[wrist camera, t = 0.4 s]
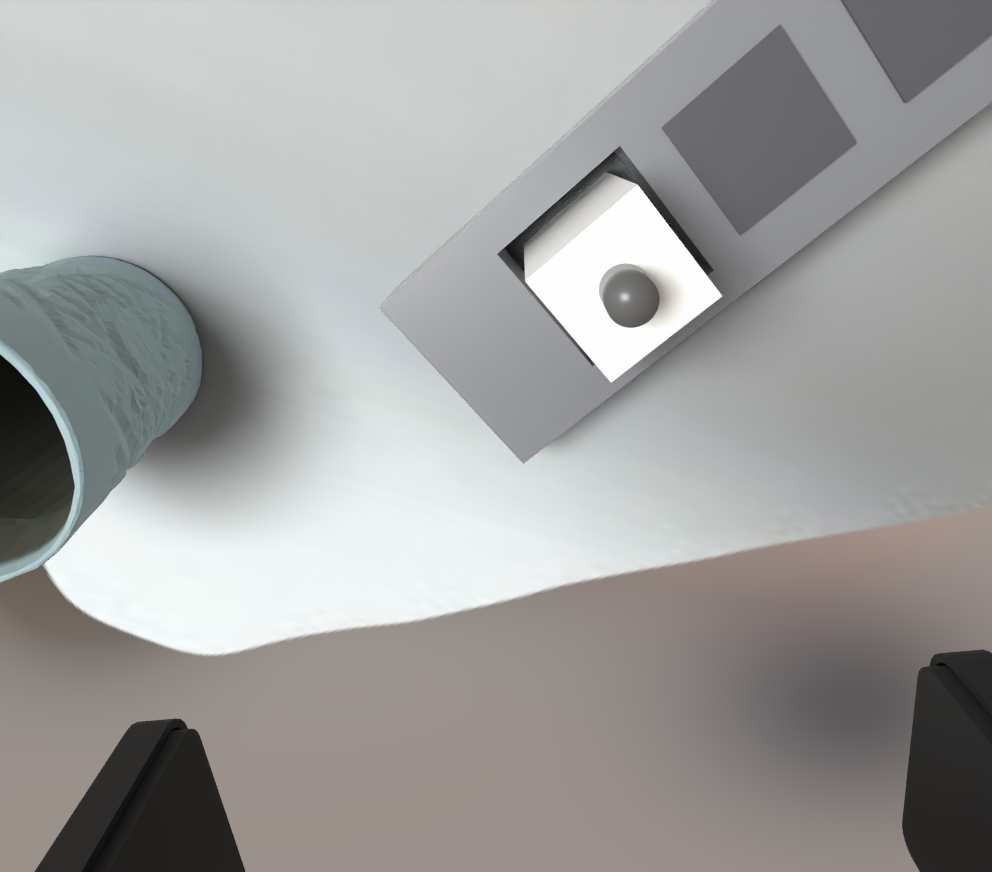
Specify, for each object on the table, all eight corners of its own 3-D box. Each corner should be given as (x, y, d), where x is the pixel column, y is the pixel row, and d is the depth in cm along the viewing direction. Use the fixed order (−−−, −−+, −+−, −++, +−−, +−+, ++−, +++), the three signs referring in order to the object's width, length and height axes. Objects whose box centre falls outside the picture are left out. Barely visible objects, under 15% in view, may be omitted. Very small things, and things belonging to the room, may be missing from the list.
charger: (605, 171, 31) (648, 188, 21) (669, 254, 32) (739, 309, 22) (523, 244, 32) (525, 293, 22) (588, 321, 33) (618, 402, 23)
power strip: (973, -237, 26) (1052, -302, 22) (1088, -12, 28) (1178, -35, 24) (392, 291, 33) (376, 311, 29) (523, 433, 35) (523, 469, 32)
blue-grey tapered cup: (242, 291, 33) (105, 369, 22) (195, 480, 37) (55, 628, 26) (16, 206, 32) (-248, 244, 21) (-10, 410, 36) (-248, 533, 25)
